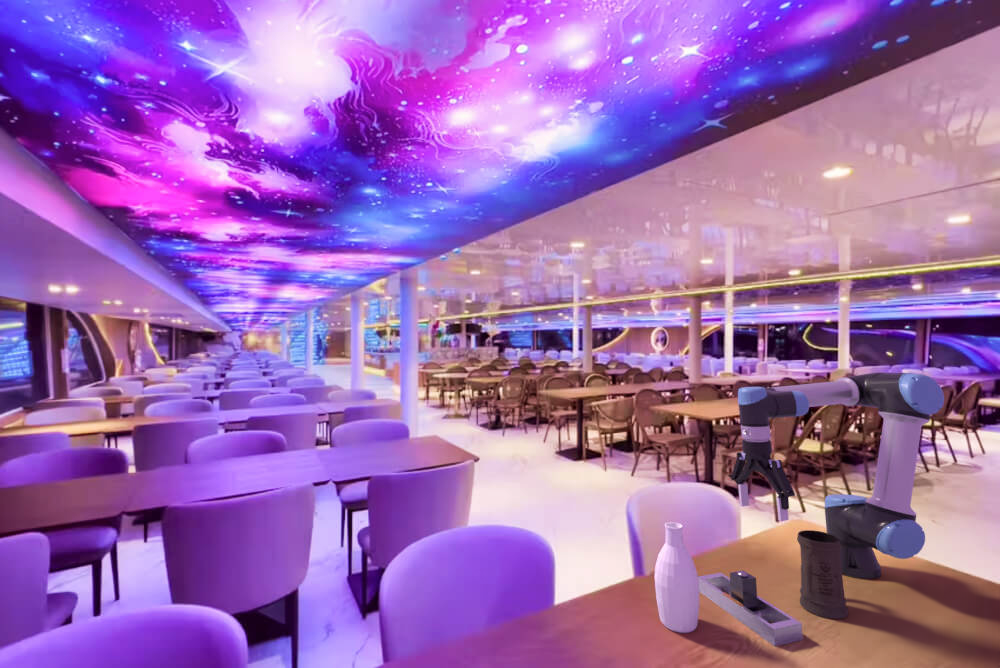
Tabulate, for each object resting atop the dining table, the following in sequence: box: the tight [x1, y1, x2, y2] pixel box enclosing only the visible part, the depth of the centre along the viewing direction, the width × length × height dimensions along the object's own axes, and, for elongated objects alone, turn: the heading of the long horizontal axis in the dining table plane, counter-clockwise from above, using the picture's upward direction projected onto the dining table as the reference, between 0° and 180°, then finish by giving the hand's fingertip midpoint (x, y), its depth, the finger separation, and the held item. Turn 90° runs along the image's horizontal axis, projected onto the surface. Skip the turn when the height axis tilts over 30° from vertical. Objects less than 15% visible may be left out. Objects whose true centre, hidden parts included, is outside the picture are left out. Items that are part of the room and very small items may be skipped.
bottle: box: [654, 521, 700, 634], centre depth 119 cm, size 11×11×25 cm
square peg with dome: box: [729, 570, 758, 612], centre depth 122 cm, size 4×4×11 cm
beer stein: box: [796, 529, 849, 620], centre depth 126 cm, size 15×11×20 cm
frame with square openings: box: [697, 572, 803, 647], centre depth 122 cm, size 8×28×4 cm, turn 15°
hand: (763, 512), depth 131 cm, fingers open, 13 cm apart
